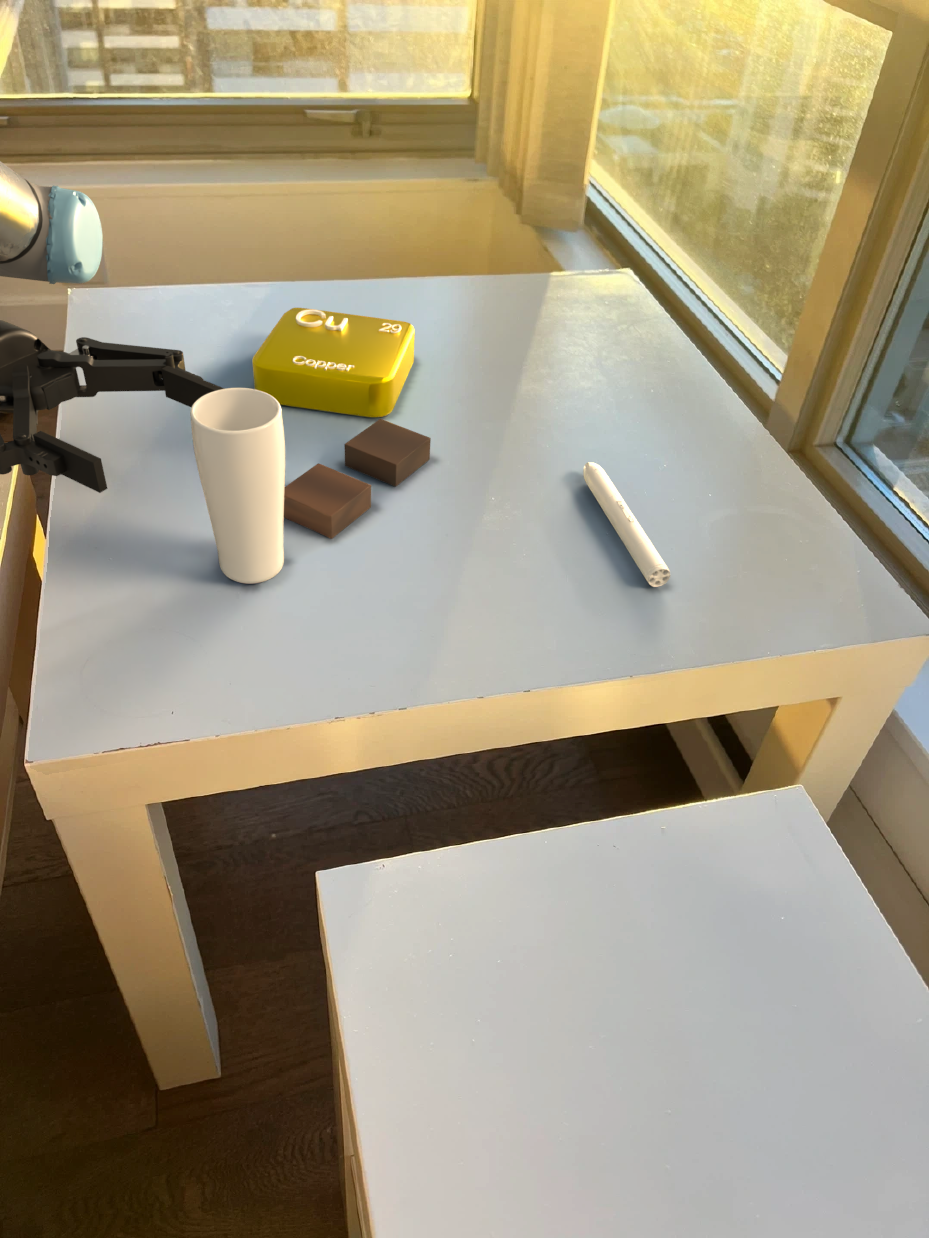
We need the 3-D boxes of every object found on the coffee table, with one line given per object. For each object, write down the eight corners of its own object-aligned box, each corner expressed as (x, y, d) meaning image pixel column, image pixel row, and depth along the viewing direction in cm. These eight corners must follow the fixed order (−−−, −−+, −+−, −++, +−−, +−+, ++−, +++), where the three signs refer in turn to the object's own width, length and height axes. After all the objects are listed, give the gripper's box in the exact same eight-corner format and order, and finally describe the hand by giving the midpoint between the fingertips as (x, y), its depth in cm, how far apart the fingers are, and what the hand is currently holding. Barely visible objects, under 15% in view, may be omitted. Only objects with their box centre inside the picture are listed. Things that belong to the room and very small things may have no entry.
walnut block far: (395, 487, 91) (396, 464, 89) (344, 466, 93) (344, 444, 91) (429, 459, 95) (431, 437, 93) (380, 440, 97) (380, 418, 95)
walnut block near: (331, 539, 84) (331, 516, 83) (278, 515, 86) (276, 492, 85) (371, 507, 88) (371, 484, 87) (319, 485, 90) (318, 462, 89)
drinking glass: (307, 576, 80) (298, 418, 70) (231, 602, 77) (211, 442, 67) (271, 533, 84) (258, 378, 74) (198, 557, 81) (174, 399, 71)
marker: (575, 473, 95) (578, 452, 93) (594, 471, 95) (598, 451, 94) (645, 588, 82) (651, 567, 81) (668, 586, 83) (674, 564, 81)
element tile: (249, 402, 101) (245, 360, 98) (290, 340, 112) (288, 300, 109) (389, 421, 100) (389, 380, 97) (416, 357, 111) (418, 317, 108)
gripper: (103, 348, 95) (270, 416, 88) (-130, 457, 79) (51, 552, 71) (88, 274, 90) (264, 339, 83) (-164, 374, 74) (27, 467, 66)
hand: (166, 438), depth 77 cm, fingers open, 13 cm apart
